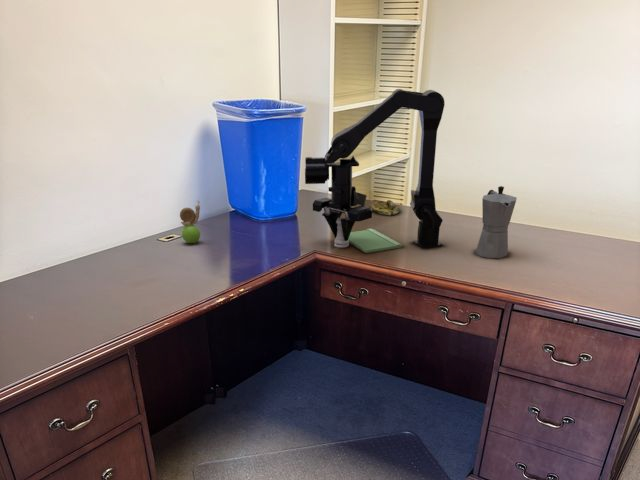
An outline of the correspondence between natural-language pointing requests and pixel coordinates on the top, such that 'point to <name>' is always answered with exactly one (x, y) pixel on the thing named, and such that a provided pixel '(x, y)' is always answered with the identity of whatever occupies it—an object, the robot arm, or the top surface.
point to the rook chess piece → (340, 236)
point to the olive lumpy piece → (385, 208)
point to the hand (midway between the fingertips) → (341, 239)
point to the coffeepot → (495, 224)
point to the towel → (372, 241)
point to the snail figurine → (190, 224)
